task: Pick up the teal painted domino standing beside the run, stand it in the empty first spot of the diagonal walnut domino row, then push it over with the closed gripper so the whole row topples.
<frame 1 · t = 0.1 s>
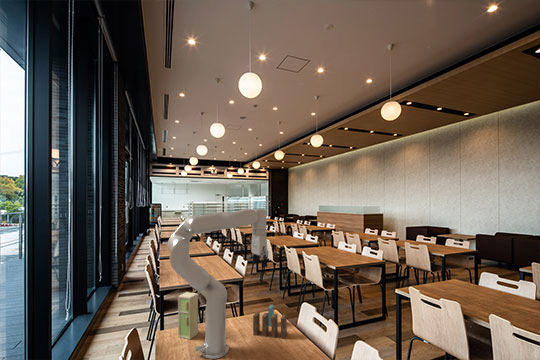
hand: (259, 265, 141), 37 cm above the table, tool pointing down, fingers open, 9 cm apart
domino 3: (265, 334, 141), on the table
domino 5: (284, 336, 139), on the table
domino 4: (274, 335, 140), on the table
toy refrigerator: (187, 336, 141), on the table
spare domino: (271, 324, 152), on the table
domino 2: (256, 333, 143), on the table
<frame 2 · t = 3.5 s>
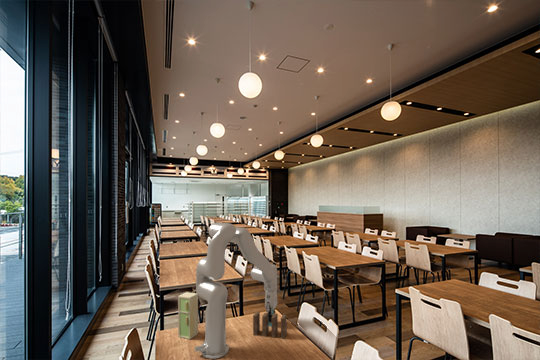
hand: (271, 319, 153), 3 cm above the table, tool pointing down, fingers closed on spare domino, 4 cm apart
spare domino: (271, 324, 152), on the table, touching gripper
everything else where it was.
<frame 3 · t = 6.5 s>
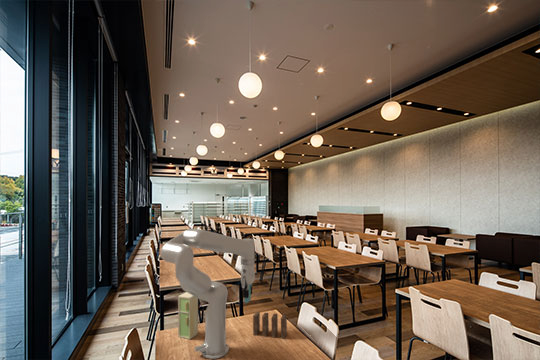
hand: (247, 295, 145), 19 cm above the table, tool pointing down, fingers closed on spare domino, 4 cm apart
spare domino: (247, 301, 145), point 16 cm above the table, touching gripper
everything else where it was.
when the fingers open (4 cm above the table, at t = 9.9 s): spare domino moves 1 cm, on the table.
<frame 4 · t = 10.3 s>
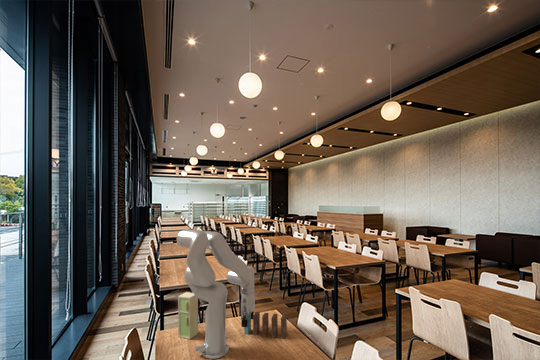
hand: (247, 322, 144), 5 cm above the table, tool pointing down, fingers open, 9 cm apart
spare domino: (247, 332, 144), on the table
everything else where it was.
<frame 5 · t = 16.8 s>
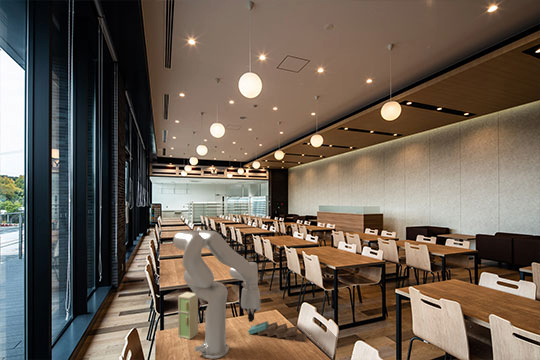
hand: (251, 320, 144), 6 cm above the table, tool pointing down, fingers closed
domino 3: (268, 332, 141), point 1 cm above the table, tilted 67°, touching domino 4
domino 5: (286, 336, 138), on the table, tilted 90°, touching domino 4
domino 4: (278, 334, 139), point 1 cm above the table, tilted 71°, touching domino 3, domino 5
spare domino: (250, 330, 144), point 1 cm above the table, tilted 67°, touching domino 2
domino 2: (259, 331, 142), point 1 cm above the table, tilted 67°, touching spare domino
everything else where it was.
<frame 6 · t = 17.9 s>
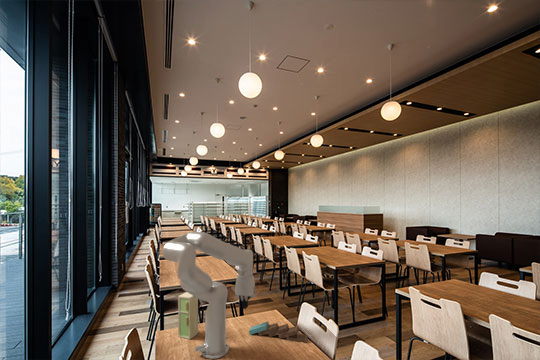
hand: (244, 308, 144), 13 cm above the table, tool pointing down, fingers closed
domino 4: (280, 334, 139), point 1 cm above the table, tilted 68°, touching domino 3, domino 5
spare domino: (250, 330, 143), point 1 cm above the table, tilted 68°, touching domino 2
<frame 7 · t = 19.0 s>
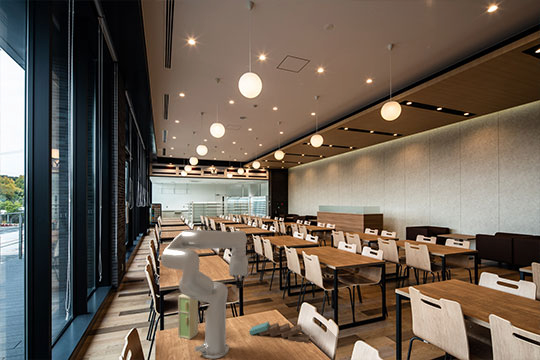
hand: (239, 287, 147), 23 cm above the table, tool pointing down, fingers closed
domino 4: (282, 334, 139), point 1 cm above the table, tilted 68°, touching domino 3, domino 5
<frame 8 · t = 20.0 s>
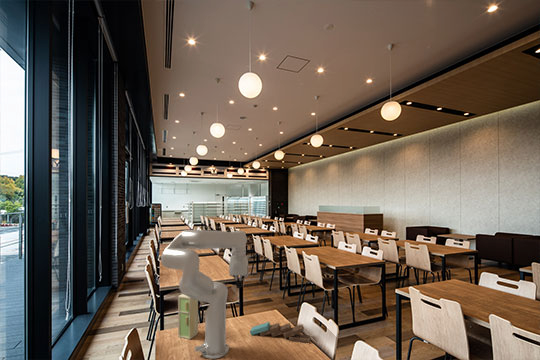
hand: (239, 287, 147), 23 cm above the table, tool pointing down, fingers closed
domino 3: (272, 333, 140), point 1 cm above the table, tilted 69°, touching domino 2, domino 4
domino 5: (290, 337, 137), point 1 cm above the table, tilted 90°
domino 4: (284, 334, 138), point 1 cm above the table, tilted 69°, touching domino 3
domino 2: (261, 332, 142), point 1 cm above the table, tilted 69°, touching domino 3, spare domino
everything else where it was.
at the end: domino 5 tilted 90°; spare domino tilted 69°; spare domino inside the target area (1.1 cm from its centre), point 1.0 cm above the table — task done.
